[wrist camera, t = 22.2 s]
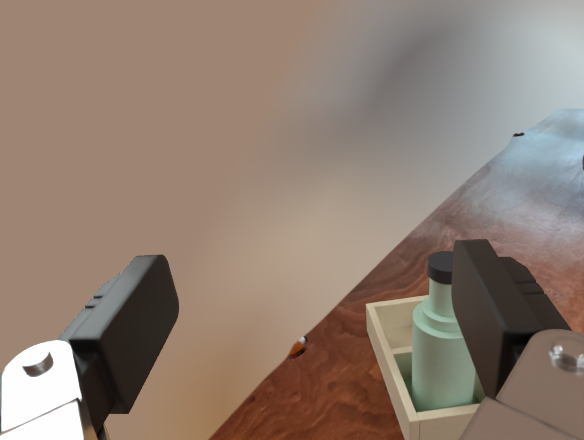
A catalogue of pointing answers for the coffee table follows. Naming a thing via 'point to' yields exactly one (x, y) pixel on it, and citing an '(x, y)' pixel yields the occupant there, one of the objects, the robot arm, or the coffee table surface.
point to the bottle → (439, 345)
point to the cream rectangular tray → (398, 373)
